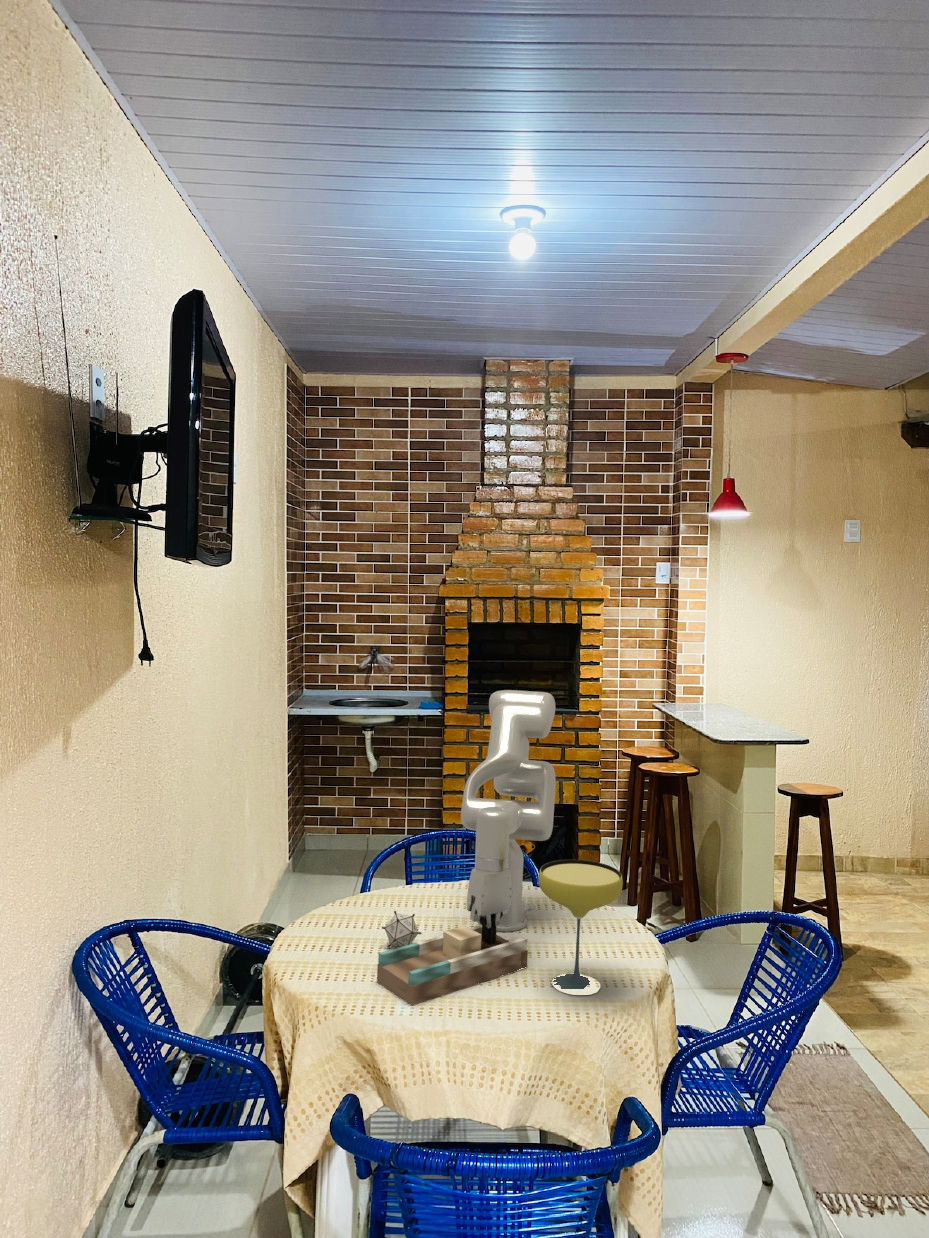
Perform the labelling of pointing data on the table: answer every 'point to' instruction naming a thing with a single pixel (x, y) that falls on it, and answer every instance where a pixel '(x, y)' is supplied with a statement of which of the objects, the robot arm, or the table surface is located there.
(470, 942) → the maple block
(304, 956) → the table surface
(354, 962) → the table surface
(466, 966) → the trap deck
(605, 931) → the table surface
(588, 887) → the cocktail glass
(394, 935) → the game die
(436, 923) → the table surface
